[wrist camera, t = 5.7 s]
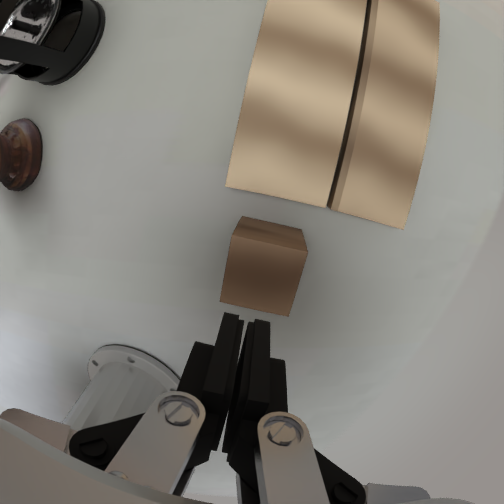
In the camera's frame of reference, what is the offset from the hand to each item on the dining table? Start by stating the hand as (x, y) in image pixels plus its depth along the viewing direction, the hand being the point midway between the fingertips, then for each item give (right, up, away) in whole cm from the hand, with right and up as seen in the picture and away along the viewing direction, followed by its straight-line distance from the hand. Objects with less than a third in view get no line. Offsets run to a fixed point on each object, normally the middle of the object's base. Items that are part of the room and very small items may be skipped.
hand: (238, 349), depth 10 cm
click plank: (+4, +17, +7) cm, 19 cm away
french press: (-17, +24, +6) cm, 30 cm away
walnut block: (+2, +4, +12) cm, 13 cm away
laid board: (+11, +16, +7) cm, 20 cm away
